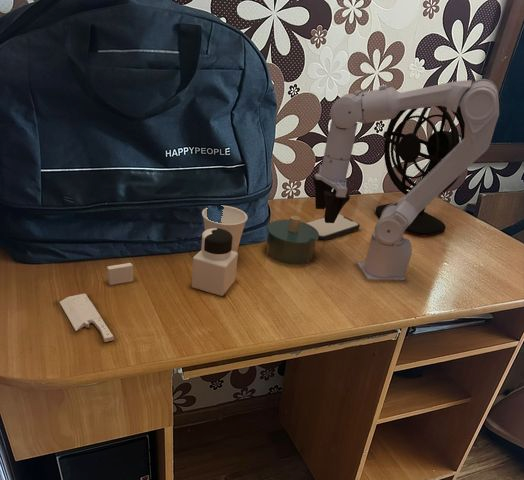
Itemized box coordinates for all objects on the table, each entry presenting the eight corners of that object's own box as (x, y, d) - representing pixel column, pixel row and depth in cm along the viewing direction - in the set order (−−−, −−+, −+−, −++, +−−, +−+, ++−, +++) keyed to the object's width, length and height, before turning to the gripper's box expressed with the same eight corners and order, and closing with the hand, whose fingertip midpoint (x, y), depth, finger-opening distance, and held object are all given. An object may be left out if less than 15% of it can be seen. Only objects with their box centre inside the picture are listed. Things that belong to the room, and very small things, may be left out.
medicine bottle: (235, 281, 109) (240, 230, 102) (222, 297, 103) (227, 243, 96) (205, 273, 110) (208, 221, 103) (191, 287, 105) (193, 234, 97)
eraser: (108, 282, 102) (107, 266, 100) (131, 278, 105) (130, 262, 103) (110, 285, 102) (109, 269, 99) (133, 281, 104) (132, 265, 102)
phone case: (321, 243, 130) (360, 230, 139) (322, 237, 129) (362, 224, 138) (297, 229, 135) (337, 217, 144) (298, 224, 134) (338, 212, 143)
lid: (310, 224, 125) (313, 208, 122) (324, 247, 115) (328, 230, 113) (262, 222, 122) (264, 205, 119) (272, 246, 113) (275, 228, 110)
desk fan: (353, 207, 152) (384, 78, 130) (393, 200, 161) (429, 78, 139) (421, 246, 135) (469, 106, 114) (461, 236, 144) (513, 104, 123)
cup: (236, 274, 111) (241, 228, 105) (193, 265, 112) (195, 218, 106) (246, 254, 119) (252, 210, 113) (206, 246, 120) (209, 201, 113)
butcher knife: (84, 347, 85) (84, 342, 85) (59, 302, 95) (58, 297, 94) (114, 340, 88) (113, 334, 87) (86, 297, 97) (86, 292, 97)
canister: (305, 244, 127) (309, 223, 124) (317, 266, 119) (322, 244, 115) (262, 243, 125) (265, 221, 121) (271, 266, 116) (275, 242, 113)
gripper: (310, 144, 113) (300, 202, 122) (329, 166, 102) (316, 228, 111) (340, 146, 115) (327, 203, 123) (361, 168, 104) (346, 229, 112)
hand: (324, 215), depth 117 cm, fingers open, 7 cm apart
